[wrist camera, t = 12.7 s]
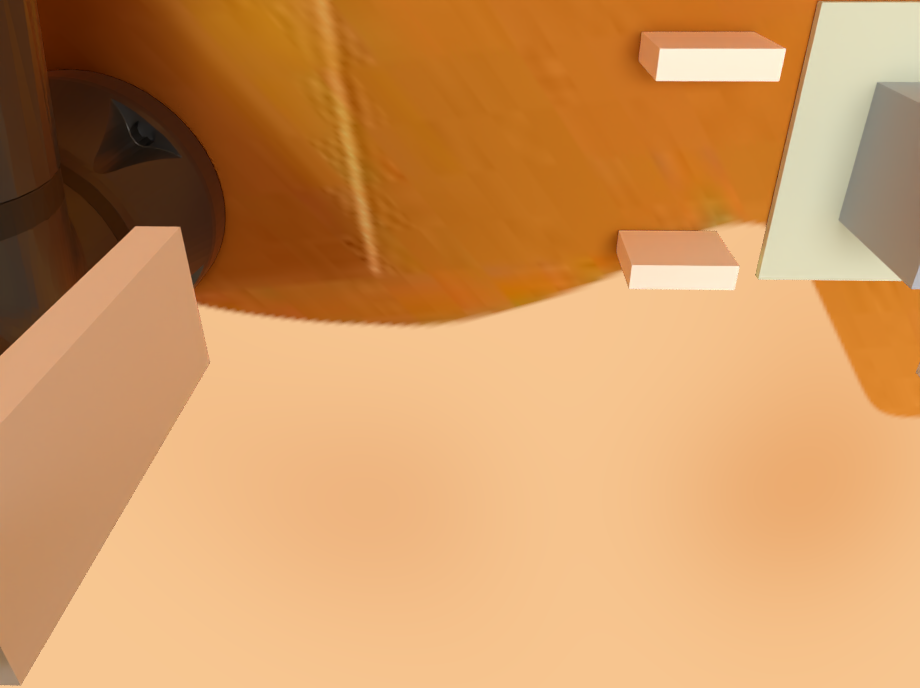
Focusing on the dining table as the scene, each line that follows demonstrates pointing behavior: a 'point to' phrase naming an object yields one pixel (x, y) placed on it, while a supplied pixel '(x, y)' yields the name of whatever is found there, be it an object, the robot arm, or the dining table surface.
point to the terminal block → (889, 181)
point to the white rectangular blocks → (693, 252)
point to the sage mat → (835, 138)
